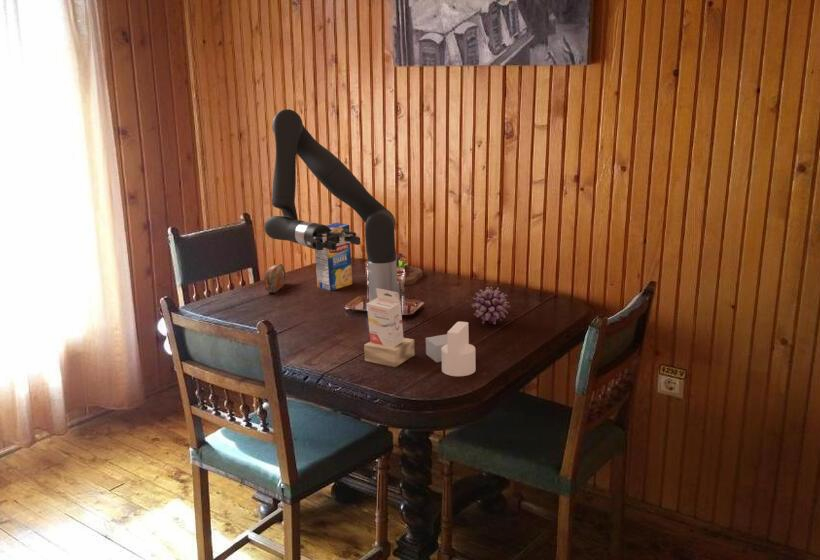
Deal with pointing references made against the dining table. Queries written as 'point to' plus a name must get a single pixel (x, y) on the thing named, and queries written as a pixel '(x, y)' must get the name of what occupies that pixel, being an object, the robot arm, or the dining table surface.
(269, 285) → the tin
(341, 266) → the beverage box
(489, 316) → the purple spiky ball
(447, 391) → the dining table surface
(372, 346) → the beech block
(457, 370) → the base with upright slab
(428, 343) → the slate block
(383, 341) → the ink cartridge box
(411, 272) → the plant
